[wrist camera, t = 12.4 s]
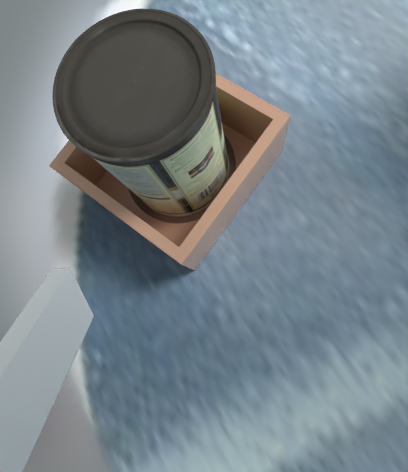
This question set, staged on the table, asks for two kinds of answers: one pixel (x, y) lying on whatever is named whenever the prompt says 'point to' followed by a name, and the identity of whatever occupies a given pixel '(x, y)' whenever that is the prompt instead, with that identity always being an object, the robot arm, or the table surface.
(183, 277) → the table surface
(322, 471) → the table surface
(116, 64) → the coffee can
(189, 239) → the planter box
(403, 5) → the table surface
